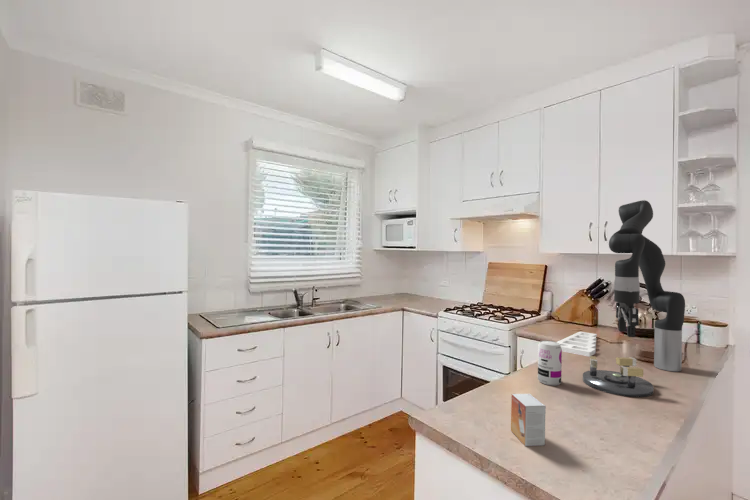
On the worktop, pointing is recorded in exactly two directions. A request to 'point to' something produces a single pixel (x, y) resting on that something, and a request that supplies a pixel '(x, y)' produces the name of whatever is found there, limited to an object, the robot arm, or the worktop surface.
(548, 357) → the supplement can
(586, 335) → the holder
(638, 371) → the knob
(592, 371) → the knob
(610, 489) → the worktop surface
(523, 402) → the small box
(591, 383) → the base
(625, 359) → the knob near
